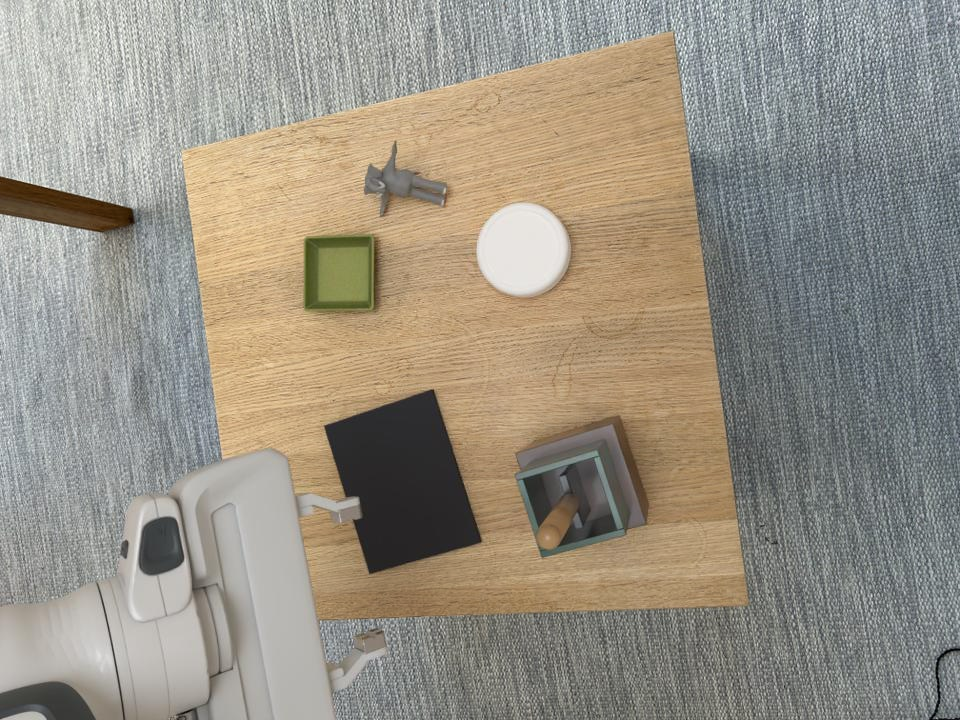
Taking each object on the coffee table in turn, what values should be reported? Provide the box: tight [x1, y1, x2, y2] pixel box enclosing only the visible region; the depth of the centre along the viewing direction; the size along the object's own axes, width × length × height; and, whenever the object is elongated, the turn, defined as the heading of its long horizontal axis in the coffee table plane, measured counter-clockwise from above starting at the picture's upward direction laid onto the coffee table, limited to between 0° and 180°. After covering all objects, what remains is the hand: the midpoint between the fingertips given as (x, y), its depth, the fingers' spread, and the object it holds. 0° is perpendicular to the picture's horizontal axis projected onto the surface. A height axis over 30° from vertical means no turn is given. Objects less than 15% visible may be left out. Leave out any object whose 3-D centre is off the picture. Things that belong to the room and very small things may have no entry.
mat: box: [323, 388, 483, 575], centre depth 88 cm, size 18×14×1 cm
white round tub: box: [475, 201, 572, 299], centre depth 83 cm, size 10×10×4 cm
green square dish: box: [302, 233, 375, 312], centre depth 89 cm, size 9×9×2 cm
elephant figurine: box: [363, 140, 448, 218], centre depth 85 cm, size 10×6×9 cm
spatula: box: [535, 464, 591, 550], centre depth 64 cm, size 5×2×21 cm, turn 19°
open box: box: [514, 414, 650, 559], centre depth 75 cm, size 10×10×18 cm
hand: (370, 573), depth 54 cm, fingers open, 8 cm apart
